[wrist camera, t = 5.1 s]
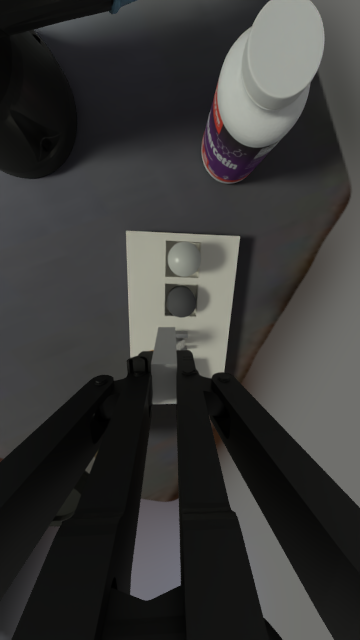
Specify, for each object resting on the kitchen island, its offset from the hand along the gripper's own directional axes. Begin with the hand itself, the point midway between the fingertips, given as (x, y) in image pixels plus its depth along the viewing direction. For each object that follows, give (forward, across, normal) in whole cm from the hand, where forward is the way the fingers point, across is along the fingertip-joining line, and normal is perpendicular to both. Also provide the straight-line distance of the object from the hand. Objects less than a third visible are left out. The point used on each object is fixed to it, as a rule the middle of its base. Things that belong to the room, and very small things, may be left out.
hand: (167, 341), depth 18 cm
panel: (+16, +2, -2) cm, 17 cm away
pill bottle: (+17, +9, +21) cm, 28 cm away
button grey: (+13, +2, +7) cm, 15 cm away
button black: (+15, +2, +1) cm, 15 cm away
